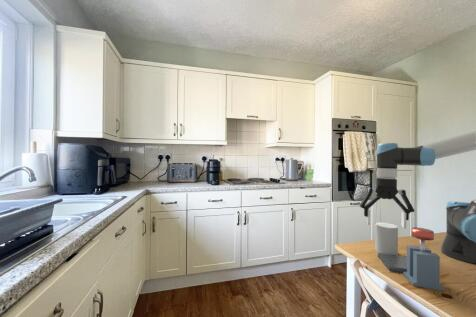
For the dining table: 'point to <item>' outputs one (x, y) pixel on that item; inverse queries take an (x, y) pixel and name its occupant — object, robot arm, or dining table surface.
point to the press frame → (423, 268)
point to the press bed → (394, 262)
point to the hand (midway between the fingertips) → (385, 225)
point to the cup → (386, 238)
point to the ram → (422, 236)
